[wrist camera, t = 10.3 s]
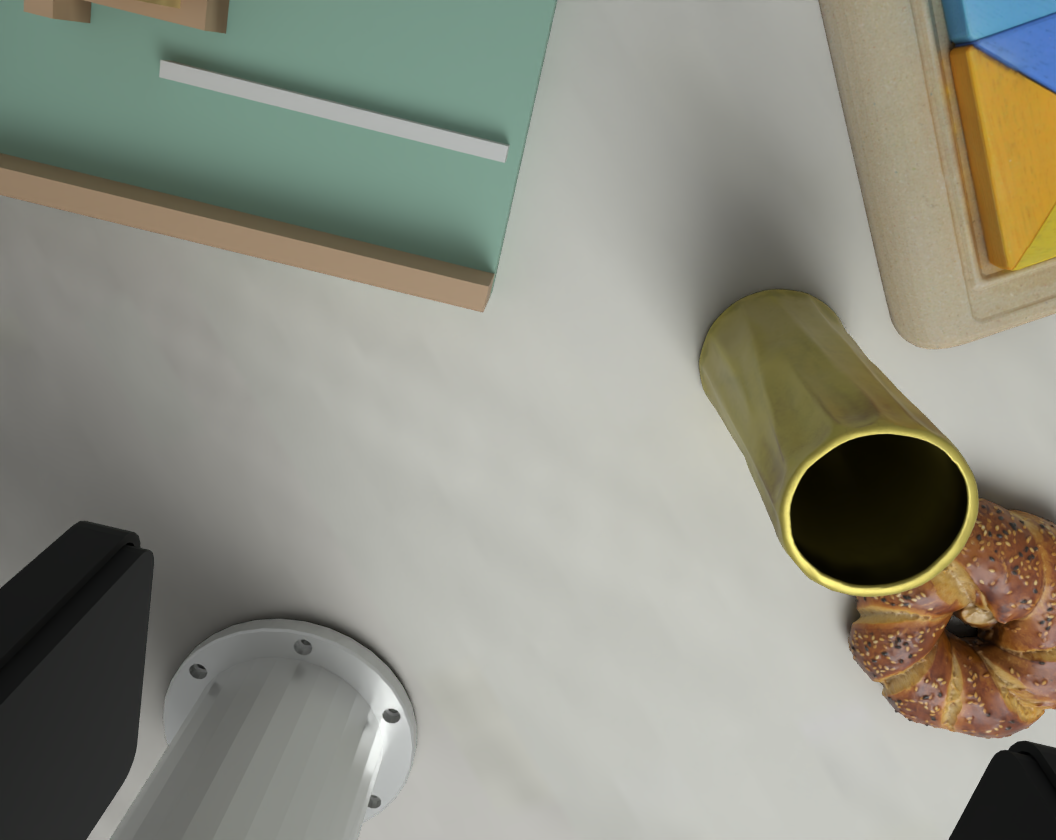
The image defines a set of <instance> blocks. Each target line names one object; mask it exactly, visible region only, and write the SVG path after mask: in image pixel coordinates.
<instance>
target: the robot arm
mask: <svg viewBox="0 0 1056 840" xmlns="http://www.w3.org/2000/svg"><path fill="white" fill-rule="evenodd" d="M153 567H154V557H153V553H152V552H151V551H150V550H147V549H142V548H140V540H139V536H138V535H137V534H136V533H135V532H130V531H126V530H122V529H118V528H113V527H109V526H105V525H101V524H96V523H92V522H88V521H79V522H78V523H76V524H75V525H73V526H72V527H71V528H70V529H68V530H67V531H66V532H65V533H64V534H63V535H62V536H60V537H59V538H58V539H57V540H56V541H55V542H53V543H52V544H51V545H50V546H49V547H48V548H46V549H45V550H44V551H43V552H42V553H41V554H40V555H38V556H37V557H36V558H35V559H34V560H33V561H31V562H30V563H29V564H28V565H27V566H26V567H25V568H23V569H22V570H21V571H20V572H19V573H18V574H16V575H15V576H14V577H13V578H12V579H11V580H9V581H8V582H7V583H6V584H5V585H4V586H3V587H1V588H0V840H86V839H87V838H88V836H89V834H90V833H91V831H92V830H93V828H94V827H95V825H96V824H97V822H98V821H99V819H100V818H101V816H102V815H103V813H104V812H105V810H106V809H107V807H108V806H109V804H110V803H111V801H112V800H113V798H114V797H115V795H116V793H117V792H118V790H119V789H120V787H121V786H122V784H123V783H124V781H125V779H126V777H127V775H128V773H129V771H130V768H131V766H132V763H133V760H134V757H135V753H136V748H137V739H138V729H139V718H140V707H141V696H142V686H143V675H144V664H145V653H146V643H147V632H148V621H149V610H150V599H151V589H152V578H153ZM163 725H164V733H165V739H166V741H167V744H168V747H167V749H166V751H165V752H164V754H163V755H162V757H161V759H160V760H159V762H158V763H157V765H156V767H155V768H154V770H153V771H152V773H151V774H150V776H149V778H148V779H147V781H146V782H145V784H144V786H143V787H142V789H141V790H140V792H139V794H138V795H137V797H136V798H135V800H134V801H133V803H132V805H131V806H130V808H129V809H128V811H127V813H126V814H125V816H124V817H123V819H122V821H121V822H120V824H119V825H118V827H117V828H116V830H115V832H114V833H113V835H112V836H111V838H110V840H358V837H359V833H360V830H361V827H362V823H364V822H366V821H368V820H369V819H371V818H373V817H374V816H376V815H378V814H379V813H381V812H382V811H383V810H384V809H385V808H386V807H387V806H388V805H389V804H390V803H391V802H393V801H394V800H395V799H396V797H397V796H398V794H399V793H400V791H401V790H402V788H403V787H404V785H405V784H406V781H407V779H408V776H409V773H410V770H411V768H412V765H413V760H414V756H415V751H416V746H417V724H416V720H415V716H414V711H413V707H412V704H411V702H410V700H409V698H408V696H407V694H406V692H405V690H404V687H403V686H402V684H401V683H400V682H399V680H398V679H397V678H396V676H395V675H394V674H393V672H392V671H391V669H390V668H389V667H388V666H387V665H386V664H385V663H384V662H382V661H381V660H380V659H379V658H378V657H377V656H376V655H375V654H374V653H373V652H372V651H370V650H369V649H367V648H366V647H364V646H363V645H361V644H360V643H358V642H357V641H355V640H354V639H352V638H350V637H348V636H346V635H343V634H341V633H339V632H337V631H335V630H332V629H330V628H327V627H324V626H320V625H316V624H313V623H309V622H305V621H297V620H288V619H265V620H254V621H249V622H245V623H241V624H237V625H233V626H231V627H228V628H226V629H224V630H222V631H220V632H217V633H215V634H213V635H212V636H210V637H209V638H208V639H206V640H205V641H203V642H202V643H201V644H199V645H198V646H197V647H196V648H195V649H194V650H193V651H192V652H191V653H190V655H189V656H188V657H187V658H186V659H185V660H184V662H183V663H182V665H181V666H180V668H179V669H178V671H177V672H176V674H175V676H174V677H173V679H172V680H171V682H170V685H169V688H168V691H167V693H166V696H165V700H164V709H163ZM949 840H1056V748H1054V747H1050V746H1046V745H1041V744H1037V743H1033V742H1029V741H1019V742H1017V743H1015V744H1014V745H1012V746H1011V747H1010V748H1009V750H1002V751H999V752H998V753H996V754H995V755H994V757H993V758H992V760H991V761H990V763H989V765H988V767H987V769H986V771H985V772H984V774H983V776H982V778H981V780H980V782H979V784H978V786H977V787H976V789H975V791H974V793H973V795H972V797H971V799H970V801H969V802H968V804H967V806H966V808H965V810H964V812H963V814H962V816H961V817H960V819H959V821H958V823H957V825H956V827H955V829H954V830H953V832H952V834H951V836H950V838H949Z"/></svg>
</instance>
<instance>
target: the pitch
mask: <svg viewBox="0 0 1056 840" xmlns="http://www.w3.org/2000/svg"><path fill="white" fill-rule="evenodd" d="M556 4H557V0H229V10H228V19H227V29H226V34H225V33H218V32H211V31H204V30H200V29H196V28H192V27H188V26H184V25H180V24H176V23H172V22H168V21H164V20H160V19H156V18H152V17H148V16H144V15H140V14H136V13H132V12H128V11H124V10H120V9H116V8H112V7H108V6H104V5H100V4H96V3H92V2H91V19H90V23H83V22H75V21H67V20H59V19H52V18H48V17H44V16H40V15H36V14H32V13H28V12H24V0H0V195H3V196H7V197H11V198H15V199H19V200H23V201H28V202H32V203H36V204H40V205H44V206H48V207H52V208H56V209H60V210H65V211H69V212H73V213H77V214H81V215H85V216H89V217H93V218H97V219H102V220H106V221H110V222H114V223H118V224H122V225H126V226H130V227H134V228H139V229H143V230H147V231H151V232H155V233H159V234H163V235H167V236H171V237H176V238H180V239H184V240H188V241H192V242H196V243H200V244H204V245H208V246H213V247H217V248H221V249H225V250H229V251H233V252H237V253H241V254H245V255H249V256H254V257H258V258H262V259H266V260H270V261H274V262H278V263H282V264H286V265H291V266H295V267H299V268H303V269H307V270H311V271H315V272H319V273H323V274H328V275H332V276H336V277H340V278H344V279H348V280H352V281H356V282H360V283H365V284H369V285H373V286H377V287H381V288H385V289H389V290H393V291H397V292H402V293H406V294H410V295H414V296H418V297H422V298H426V299H430V300H434V301H439V302H443V303H447V304H451V305H455V306H459V307H463V308H467V309H471V310H475V311H480V312H483V311H484V309H485V307H486V305H487V302H488V300H489V298H490V296H491V293H492V291H493V286H494V282H495V277H496V273H497V268H498V264H499V259H500V255H501V250H502V246H503V241H504V237H505V232H506V228H507V223H508V219H509V214H510V210H511V205H512V201H513V196H514V192H515V187H516V183H517V178H518V174H519V170H520V165H521V161H522V156H523V152H524V147H525V143H526V138H527V134H528V129H529V125H530V120H531V116H532V111H533V107H534V102H535V98H536V93H537V89H538V84H539V80H540V75H541V71H542V66H543V62H544V57H545V53H546V48H547V44H548V40H549V35H550V31H551V26H552V22H553V17H554V13H555V8H556Z"/></svg>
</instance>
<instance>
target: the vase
mask: <svg viewBox="0 0 1056 840" xmlns="http://www.w3.org/2000/svg"><path fill="white" fill-rule="evenodd" d="M699 370H700V377H701V382H702V386H703V389H704V391H705V394H706V395H707V397H708V399H709V400H710V402H711V403H712V404H713V406H714V407H715V409H716V410H717V412H718V414H719V415H720V417H721V419H722V420H723V422H724V424H725V426H726V427H727V429H728V431H729V432H730V434H731V436H732V437H733V439H734V441H735V442H736V444H737V445H738V447H739V449H740V450H741V452H742V453H743V455H744V457H745V459H746V462H747V465H748V468H749V470H750V473H751V475H752V477H753V479H754V482H755V484H756V486H757V488H758V490H759V493H760V495H761V497H762V500H763V502H764V505H765V507H766V510H767V512H768V514H769V517H770V519H771V521H772V524H773V526H774V529H775V532H776V535H777V537H778V539H779V541H780V543H781V545H782V547H783V548H784V550H785V551H786V553H787V554H788V555H789V556H790V557H791V558H792V560H793V561H794V562H795V563H796V565H797V566H798V567H799V568H800V569H801V570H802V572H803V573H804V574H805V575H806V576H807V577H808V578H809V579H811V580H813V581H815V582H816V583H818V584H820V585H822V586H824V587H826V588H828V589H830V590H832V591H836V592H840V593H844V594H848V595H854V596H861V597H877V596H886V595H892V594H898V593H901V592H904V591H907V590H910V589H913V588H916V587H918V586H921V585H923V584H925V583H926V582H928V581H930V580H931V579H933V578H934V577H935V576H937V575H938V574H939V573H940V572H941V571H943V570H944V569H945V568H946V567H947V566H948V565H949V564H950V563H951V562H952V561H953V560H954V559H955V558H956V557H957V556H958V554H959V553H960V552H961V550H962V549H963V547H964V546H965V544H966V542H967V540H968V538H969V537H970V534H971V532H972V530H973V528H974V525H975V522H976V519H977V515H978V507H979V498H978V489H977V483H976V480H975V477H974V475H973V473H972V471H971V469H970V467H969V465H968V464H967V462H966V460H965V459H964V457H963V456H962V455H961V453H960V452H959V450H958V449H957V448H956V447H955V446H954V444H953V443H952V442H951V441H950V440H949V439H948V438H947V437H946V436H945V435H944V434H943V433H942V432H941V431H940V430H939V429H938V428H937V427H936V426H935V425H934V424H933V423H932V422H931V421H930V420H929V419H928V418H927V417H926V416H925V415H924V414H923V413H922V412H921V411H920V410H919V409H918V408H917V407H916V406H915V405H914V404H913V403H911V402H910V401H909V400H908V399H907V398H906V397H905V396H904V395H903V394H902V393H901V392H900V391H899V390H898V389H897V388H896V386H895V385H894V384H893V383H892V382H891V381H890V380H889V379H888V378H887V377H886V376H885V375H884V374H883V373H882V372H881V370H880V369H879V368H878V367H877V366H875V365H874V364H873V363H872V362H871V361H870V360H869V359H868V358H867V356H866V355H865V354H864V353H863V352H862V350H861V349H860V347H859V346H858V345H857V343H856V342H855V341H854V340H853V338H852V337H851V336H850V335H849V334H848V333H847V332H846V331H845V329H844V327H843V325H842V323H841V321H840V319H839V318H838V317H837V315H836V314H835V313H834V312H833V311H832V310H831V309H830V308H829V307H828V306H827V305H826V304H824V303H823V302H821V301H820V300H818V299H817V298H815V297H813V296H812V295H810V294H807V293H804V292H799V291H794V290H784V289H772V290H765V291H761V292H757V293H754V294H751V295H749V296H746V297H744V298H742V299H740V300H738V301H737V302H735V303H734V304H732V305H731V306H729V307H728V308H727V309H726V310H725V311H724V312H723V313H722V314H721V315H720V316H719V317H718V318H717V319H716V321H715V322H714V323H713V325H712V326H711V328H710V329H709V331H708V333H707V336H706V338H705V341H704V344H703V347H702V351H701V355H700V360H699Z"/></svg>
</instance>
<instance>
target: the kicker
mask: <svg viewBox="0 0 1056 840" xmlns="http://www.w3.org/2000/svg"><path fill="white" fill-rule="evenodd" d="M91 2H92V3H96V4H100V5H104V6H108V7H112V8H116V9H120V10H124V11H128V12H132V13H136V14H140V15H144V16H148V17H152V18H156V19H160V20H164V21H168V22H172V23H176V24H180V25H184V26H188V27H192V28H196V29H200V30H204V31H211V32H218V33H225V34H226V29H227V19H228V10H229V0H24V12H28V13H32V14H36V15H40V16H44V17H48V18H52V19H59V20H67V21H75V22H83V23H90V19H91Z"/></svg>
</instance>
